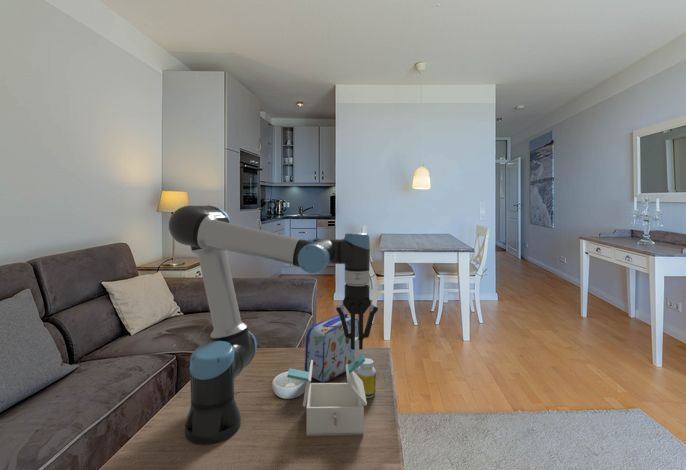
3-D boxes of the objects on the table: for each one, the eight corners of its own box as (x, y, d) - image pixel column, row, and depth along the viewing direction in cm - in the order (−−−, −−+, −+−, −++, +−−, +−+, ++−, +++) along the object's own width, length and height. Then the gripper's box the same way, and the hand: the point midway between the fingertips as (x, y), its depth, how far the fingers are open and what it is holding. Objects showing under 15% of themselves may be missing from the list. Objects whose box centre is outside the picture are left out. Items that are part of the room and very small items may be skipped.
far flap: (361, 382, 111) (377, 369, 111) (365, 406, 98) (383, 390, 98) (345, 365, 111) (361, 351, 111) (347, 386, 98) (366, 371, 98)
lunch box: (340, 356, 151) (341, 306, 150) (361, 361, 146) (362, 310, 144) (301, 382, 128) (301, 323, 126) (324, 390, 123) (325, 328, 121)
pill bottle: (374, 399, 117) (375, 366, 116) (355, 397, 118) (355, 364, 117) (376, 390, 123) (377, 358, 122) (358, 388, 124) (358, 356, 124)
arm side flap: (305, 406, 98) (281, 401, 97) (308, 383, 111) (287, 379, 110) (310, 380, 97) (287, 376, 97) (313, 360, 110) (292, 356, 110)
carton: (305, 440, 96) (306, 412, 95) (309, 407, 112) (309, 383, 111) (364, 440, 96) (364, 412, 96) (359, 406, 112) (359, 382, 112)
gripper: (335, 286, 102) (335, 365, 104) (379, 286, 102) (379, 364, 104) (335, 281, 109) (335, 354, 111) (376, 281, 110) (375, 354, 112)
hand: (356, 359), depth 108 cm, fingers closed
